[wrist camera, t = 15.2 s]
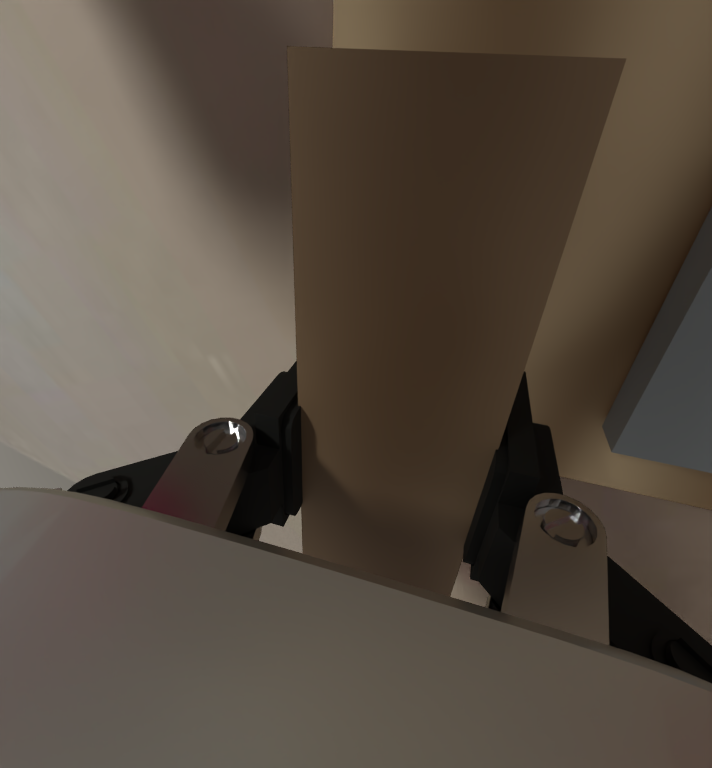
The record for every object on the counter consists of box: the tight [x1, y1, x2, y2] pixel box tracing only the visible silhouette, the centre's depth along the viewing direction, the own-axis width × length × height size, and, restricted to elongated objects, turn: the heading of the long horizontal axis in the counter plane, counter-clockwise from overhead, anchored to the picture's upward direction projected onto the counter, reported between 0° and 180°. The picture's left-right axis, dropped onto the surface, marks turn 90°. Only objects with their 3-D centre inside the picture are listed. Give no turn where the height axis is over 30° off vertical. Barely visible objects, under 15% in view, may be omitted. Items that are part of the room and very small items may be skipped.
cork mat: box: [333, 0, 712, 510], centre depth 13 cm, size 22×18×1 cm
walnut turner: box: [287, 46, 627, 597], centre depth 10 cm, size 4×14×4 cm, turn 177°
